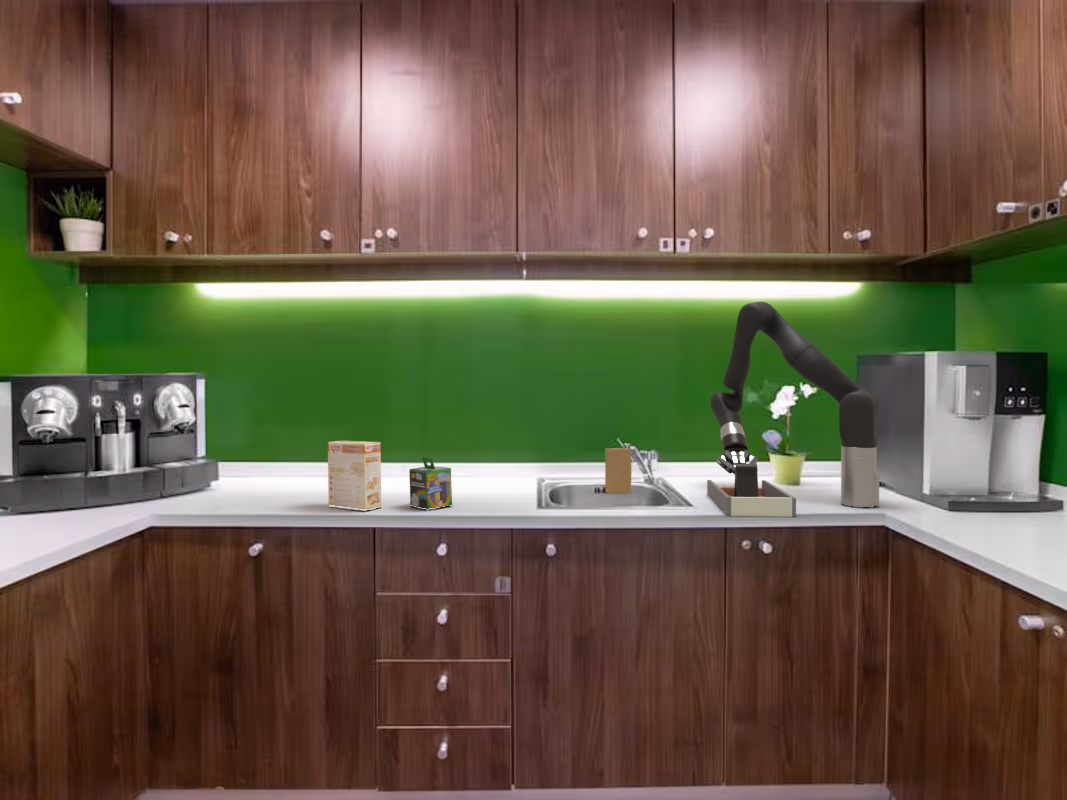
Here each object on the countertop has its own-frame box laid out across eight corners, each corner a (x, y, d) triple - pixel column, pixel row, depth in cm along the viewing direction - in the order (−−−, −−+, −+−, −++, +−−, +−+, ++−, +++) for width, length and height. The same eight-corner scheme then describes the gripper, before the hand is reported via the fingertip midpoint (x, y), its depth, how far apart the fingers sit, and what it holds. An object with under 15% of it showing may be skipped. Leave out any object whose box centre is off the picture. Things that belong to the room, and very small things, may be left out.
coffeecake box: (382, 508, 189) (381, 441, 188) (364, 512, 182) (363, 443, 182) (345, 503, 196) (345, 439, 196) (327, 507, 190) (326, 441, 190)
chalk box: (452, 507, 190) (452, 456, 190) (427, 511, 184) (426, 459, 183) (434, 502, 197) (433, 454, 196) (408, 507, 190) (408, 457, 190)
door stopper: (759, 507, 187) (759, 465, 187) (737, 506, 188) (737, 465, 188) (754, 501, 196) (754, 462, 196) (733, 500, 197) (733, 461, 197)
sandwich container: (630, 486, 226) (630, 443, 226) (631, 494, 211) (631, 448, 211) (605, 486, 227) (605, 443, 227) (605, 493, 212) (605, 448, 212)
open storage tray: (765, 495, 205) (765, 480, 205) (795, 516, 173) (796, 498, 173) (707, 495, 207) (707, 479, 207) (727, 515, 175) (727, 497, 175)
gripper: (714, 432, 208) (721, 475, 196) (756, 432, 207) (766, 475, 195) (711, 446, 213) (718, 489, 202) (752, 446, 212) (761, 490, 200)
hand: (741, 482), depth 198 cm, fingers closed
